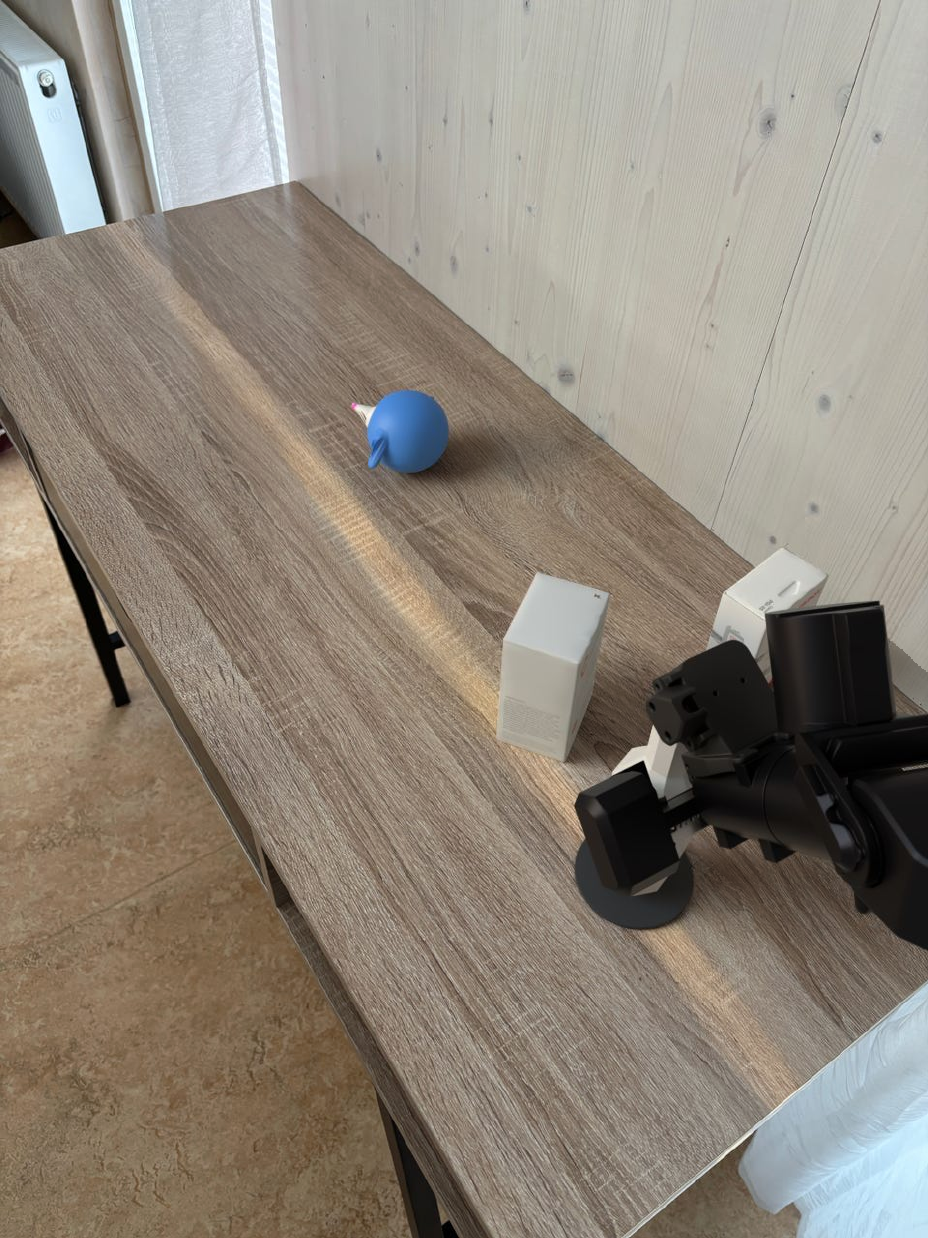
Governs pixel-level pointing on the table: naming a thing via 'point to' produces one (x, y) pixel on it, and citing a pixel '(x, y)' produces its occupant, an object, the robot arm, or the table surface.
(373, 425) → the blue mole toy
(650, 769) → the faceted bottle
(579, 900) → the table surface
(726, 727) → the robot arm
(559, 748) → the small box
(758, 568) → the ink box
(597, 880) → the coaster
